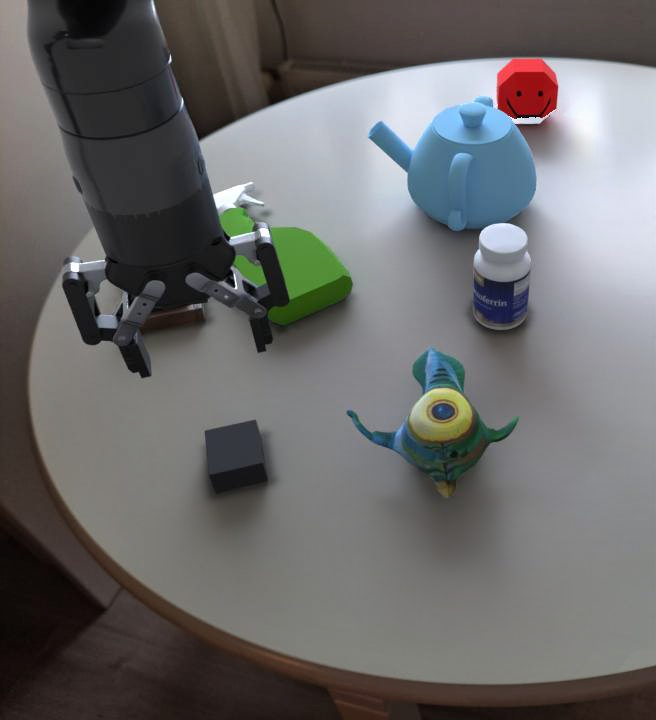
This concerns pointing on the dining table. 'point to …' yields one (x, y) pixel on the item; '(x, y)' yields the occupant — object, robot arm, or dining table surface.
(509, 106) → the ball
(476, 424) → the decorative fish
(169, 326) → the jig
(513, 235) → the pill bottle
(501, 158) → the teapot
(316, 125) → the dining table surface
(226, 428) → the pad
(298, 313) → the spray bottle
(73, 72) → the robot arm
